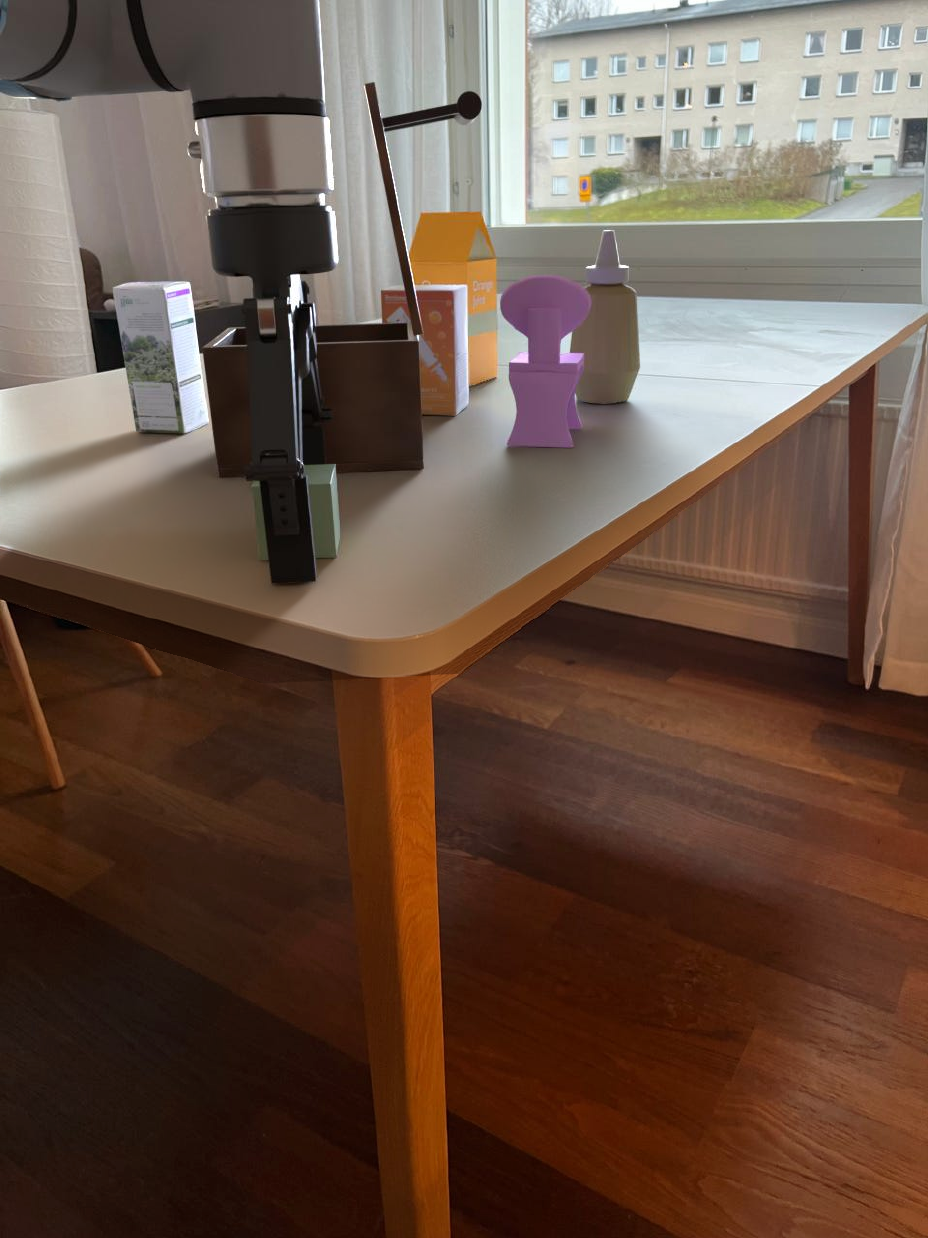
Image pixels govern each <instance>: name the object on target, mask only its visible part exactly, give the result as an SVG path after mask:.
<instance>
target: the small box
mask: <svg viewBox="0 0 928 1238" xmlns="http://www.w3.org/2000/svg"><path fill="white" fill-rule="evenodd" d="M414 288H415V294H416V299H417V304H418V309H419V314H420V319H421V325H422V330H423V334H421V335H418V340H419V360H420V385H421V410H422V415H426V416H427V415H430V416H448V417H456V416H458V415H459V414H460V413H461V412H462V411H463V410H464V409H466V408H467V407H468V405H469V399H470V395H469V394H470V393H469V388H470V387H469V384H468V320H467V285H414ZM380 304H381V305H380V306H381V308H380V309H381V323H397V322H411V320H410V314H409V309H408V304H407V299H406V294H405V289H404V284H395V285H392V286H387V287H386V288H382V289H381V290H380Z"/></svg>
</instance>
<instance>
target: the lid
mask: <svg viewBox="0 0 928 1238" xmlns="http://www.w3.org/2000/svg"><path fill="white" fill-rule="evenodd" d="M363 86H364V91H365V97H366V101H367V106H368V111H369V117H370V121H371V128H372V132H373V136H374V141H375V148H376V152H377V157H378V162H379V168H380V172H381V177H382V182H383V187H384V193H385V197H386V203H387V208H388V213H389V218H390V222H391V229H392V233H393V238H394V243H395V248H396V249H395V250H396V252H397V254H396V255H397V259H398V263H399V270H400V274H401V279H402V285H404V289H405V294H406V299H407V304H408V309H409V314H410V320H411V325H412V330H413V335H414V336H416V335H421V334H423V330H422V325H421V319H420V314H419V309H418V304H417V299H416V294H415V288H414V283H413V278H412V273H411V268H410V263H409V257H408V255H409V252H408V248H407V242H406V237H405V233H404V226H403V222H402V215H401V212H400V206H399V201H398V196H397V192H396V191H397V190H396V186H395V180H394V174H393V171H392V164H391V159H390V154H389V149H388V145H387V139H386V133H390V132H394V131H399V130H404V129H409V128H414V127H419V126H424V125H428V124H429V125H430V124H434V123H439V122H444V121H449V120H453V119H454V120H455V122H456V123H457V124H459V125H461V126H468V125H470V124H472V123H473V122H474V121H475V120H476V119H477V118H478V117H479V116H480V114H481V113H482V110H483V101H482V98H481V97H480V95H479V94H478V93H476V92H475V91H473V90H466V91H464V92H462V93H461V94H460V95H459V96H458V98H457V100H456V101H455V103H450V104H445V105H440V106H436V107H429V108H425V109H421V110H415V111H411V112H405V113H400V114H395V115H391V116H386V117H382V113H381V109H380V103H379V98H378V93H377V88H376V83H375V82H374V81H372V82H371V81H370V82H367V83H364V84H363Z"/></svg>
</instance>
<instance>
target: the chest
mask: <svg viewBox="0 0 928 1238" xmlns="http://www.w3.org/2000/svg"><path fill="white" fill-rule="evenodd" d="M315 336H316V342H317V357H316V358H317V365H318V373H319V380H320V388H321V395H322V397H323V399H324V404H323V405H322V408H328V407H331V412H332V422H329V423H315V426H318V425H323V430H324V442H325V453H326V464H335V467H336V474H337V473H359V472H360V473H361V472H364V473H365V472H388V471H390V472H391V471H413V470H424V469H425V468H424V467H425V465H424V461H425V460H424V439H423V438H424V437H423V414H422V410H421V385H420V360H419V340H418V335H416V336H414V335H413V330H412V325H411V322H397V323H382V322H367V323H339V324H338V323H337V324H336V323H335V324H333V323H332V324H316V331H315ZM201 350H202V359H203V365H204V373H205V381H206V391H207V397H208V407H209V413H210V420H211V428H212V430H211V431H212V437H213V445H214V452H215V461H216V468H217V474H218V477H219V478H231V477H233V478H234V477H245V473H244V466H250V464H251V463H252V451H251V428H250V406H249V383H248V360H247V340H246V330H245V326H238V327H237V326H236V327H235V326H233V327H228V328H226V329H225V330H224V331H222V332H221V333H220V334H219V335H217V336H216V337H215V338H213V339H212V340H210V341H209V342H208V343H207V344H205V345H204V346H203V347H202V348H201ZM273 455H287V453H286V454H273Z"/></svg>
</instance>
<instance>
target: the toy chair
mask: <svg viewBox="0 0 928 1238" xmlns="http://www.w3.org/2000/svg"><path fill="white" fill-rule="evenodd" d="M583 287H584V286H583V285H580V283H579V284H578V282H576V281H573V280H571V279H568V278H565V277H562V276H559V275H552V274H551V275H550V274H547V275H545V274H542V275H541V274H540V275H539V274H538V275H532V276H531V275H530V276H528V277H525V278H522V279H519V280H518V281H516V282H513V283H512V284H511V285H509V286H508V287H507V288H505V290H503V292H502V294H501V296H500V299H499V307H500V308H499V309H500V312H501V315H502V317H503V318H504V319H505V321H506V322H507V323H509V324H510V325H511V326H512V327H513V328H514V330H516V331H518V332H519V333H520V334H522V335H523V336H524V337H526V338H527V352H519V353H517V354H516V356H515V357H514V358H513V359H511V360H510V361H509V362H508V382H509V386H510V388H511V391H512V394H513V398H514V402H515V408H516V413H515V420H514V424H513V426H512V430H511V433H510V435H509V438H508V439H507V443H506V446H507V447H530V448H531V447H532V448H533V447H534V448H535V447H536V448H570V449H571V448H575V447H574V446H575V445H574V441H573V439H572V436H571V432H570V430H582V429H583V426H582V423H581V419H580V417H579V414H578V409H577V404H576V394H575V391H576V387H577V384H578V381H579V379H580V377H581V375H582V372H583V369H584V353H570V352H567V353H561V343H562V340H563V339H564V338H565V337H566V336H568V335H569V334H572V331H574V330H576V329H577V327H578V326H579V325H580V324H581V323H582V322H583V321H584V320H585V319H586V317H587V316H588V314H589V311H590V307H591V297H590V295H589V293H588V291H587V290H586V289H585V288H583Z"/></svg>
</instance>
